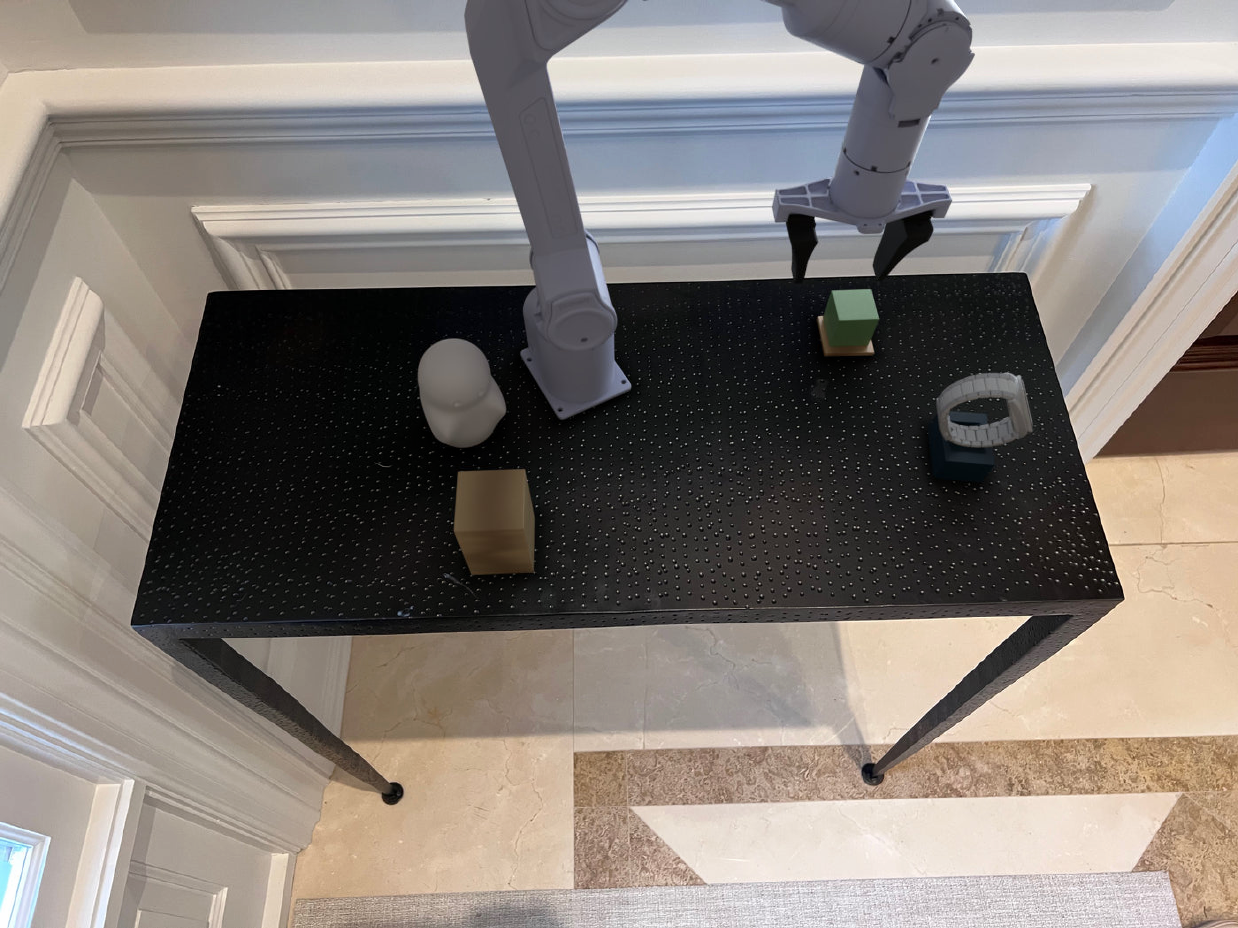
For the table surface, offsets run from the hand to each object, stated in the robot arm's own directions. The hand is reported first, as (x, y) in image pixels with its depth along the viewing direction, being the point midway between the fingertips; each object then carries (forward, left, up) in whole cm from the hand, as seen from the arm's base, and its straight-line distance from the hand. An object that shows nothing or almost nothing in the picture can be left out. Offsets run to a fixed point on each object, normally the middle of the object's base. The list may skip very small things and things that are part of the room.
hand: (837, 274), depth 74 cm
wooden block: (+6, -38, -9) cm, 40 cm away
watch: (+18, +3, -10) cm, 20 cm away
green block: (+1, +3, -9) cm, 9 cm away
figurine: (-7, -36, -9) cm, 38 cm away
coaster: (+1, +3, -9) cm, 10 cm away
